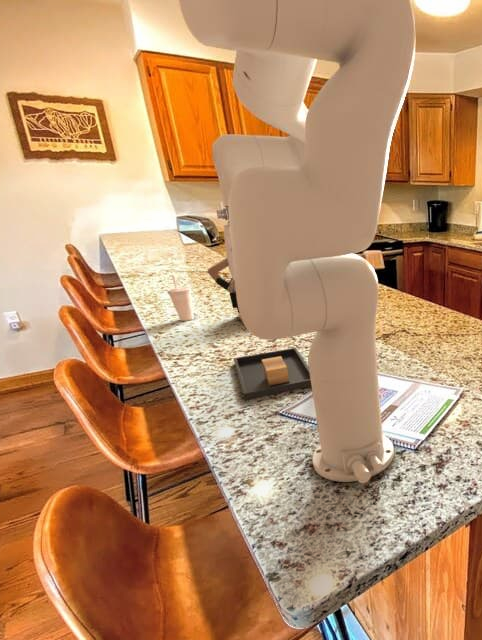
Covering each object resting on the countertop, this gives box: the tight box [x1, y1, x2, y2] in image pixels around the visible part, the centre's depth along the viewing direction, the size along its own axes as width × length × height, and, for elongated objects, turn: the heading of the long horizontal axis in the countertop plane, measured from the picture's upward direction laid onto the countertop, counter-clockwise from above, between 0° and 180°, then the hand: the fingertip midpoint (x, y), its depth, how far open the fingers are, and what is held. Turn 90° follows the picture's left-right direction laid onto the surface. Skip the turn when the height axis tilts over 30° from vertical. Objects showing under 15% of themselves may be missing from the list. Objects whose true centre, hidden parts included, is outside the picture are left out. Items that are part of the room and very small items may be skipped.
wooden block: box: [262, 356, 290, 387], centre depth 91 cm, size 7×4×4 cm, turn 30°
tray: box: [233, 347, 312, 402], centre depth 95 cm, size 21×14×2 cm
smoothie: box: [166, 274, 195, 322], centre depth 133 cm, size 6×6×14 cm
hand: (266, 307), depth 85 cm, fingers open, 9 cm apart
